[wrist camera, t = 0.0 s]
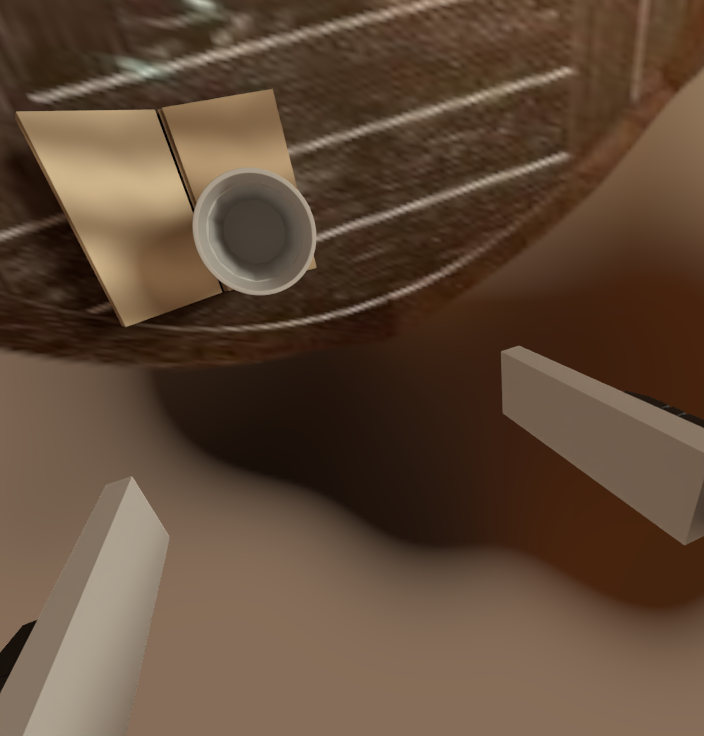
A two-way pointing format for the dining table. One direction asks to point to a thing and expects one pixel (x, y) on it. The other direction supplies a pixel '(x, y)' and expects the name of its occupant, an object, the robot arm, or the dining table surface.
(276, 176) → the cup
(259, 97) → the tan flat board
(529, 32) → the dining table surface
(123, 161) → the plank
